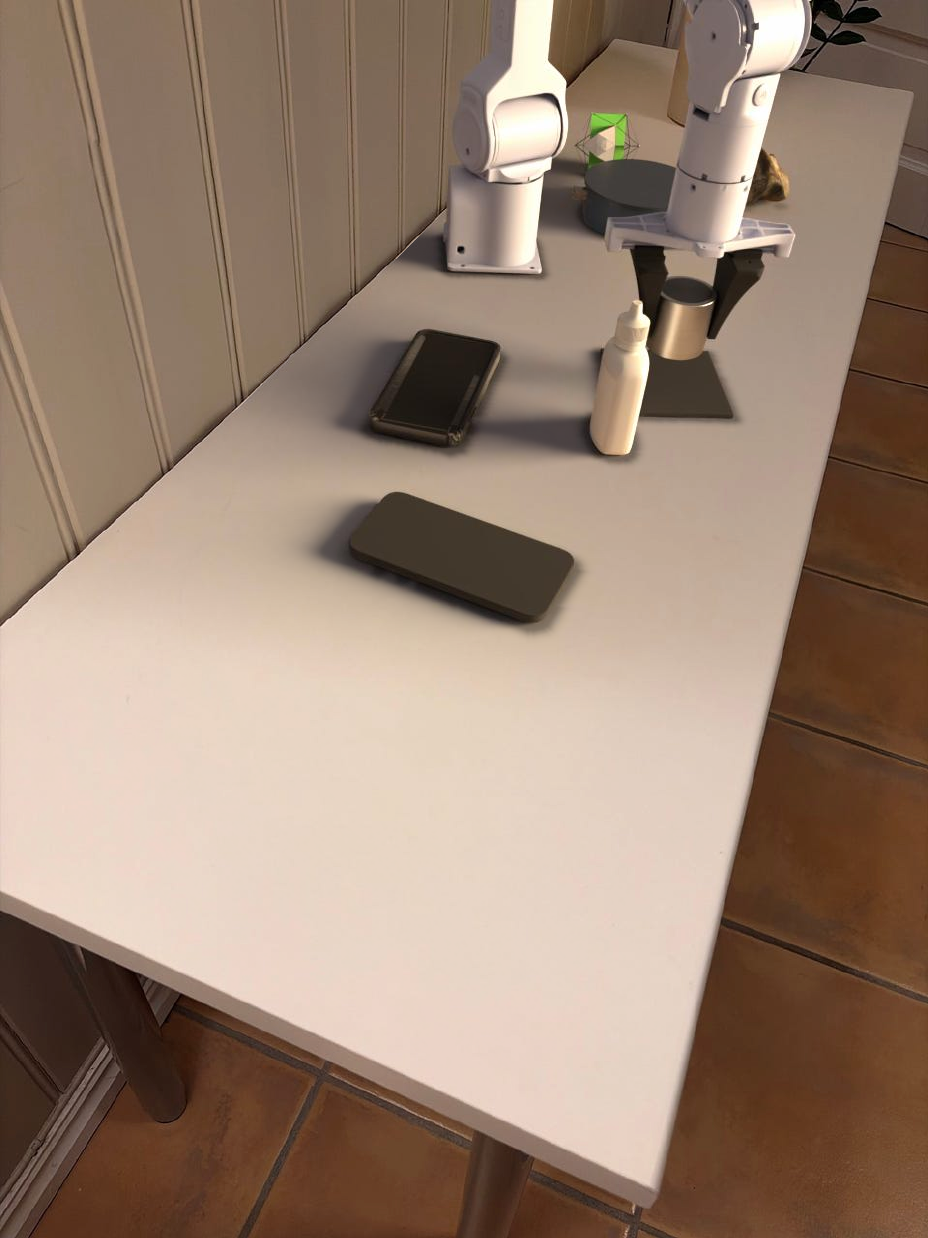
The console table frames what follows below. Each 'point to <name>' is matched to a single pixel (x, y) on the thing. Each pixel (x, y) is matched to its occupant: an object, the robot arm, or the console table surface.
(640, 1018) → the console table surface
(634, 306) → the eye dropper bottle
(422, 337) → the phone
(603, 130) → the geometric puzzle
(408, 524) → the phone
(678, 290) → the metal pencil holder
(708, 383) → the mat
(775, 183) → the fossilized seashell
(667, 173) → the grey cooking pot
